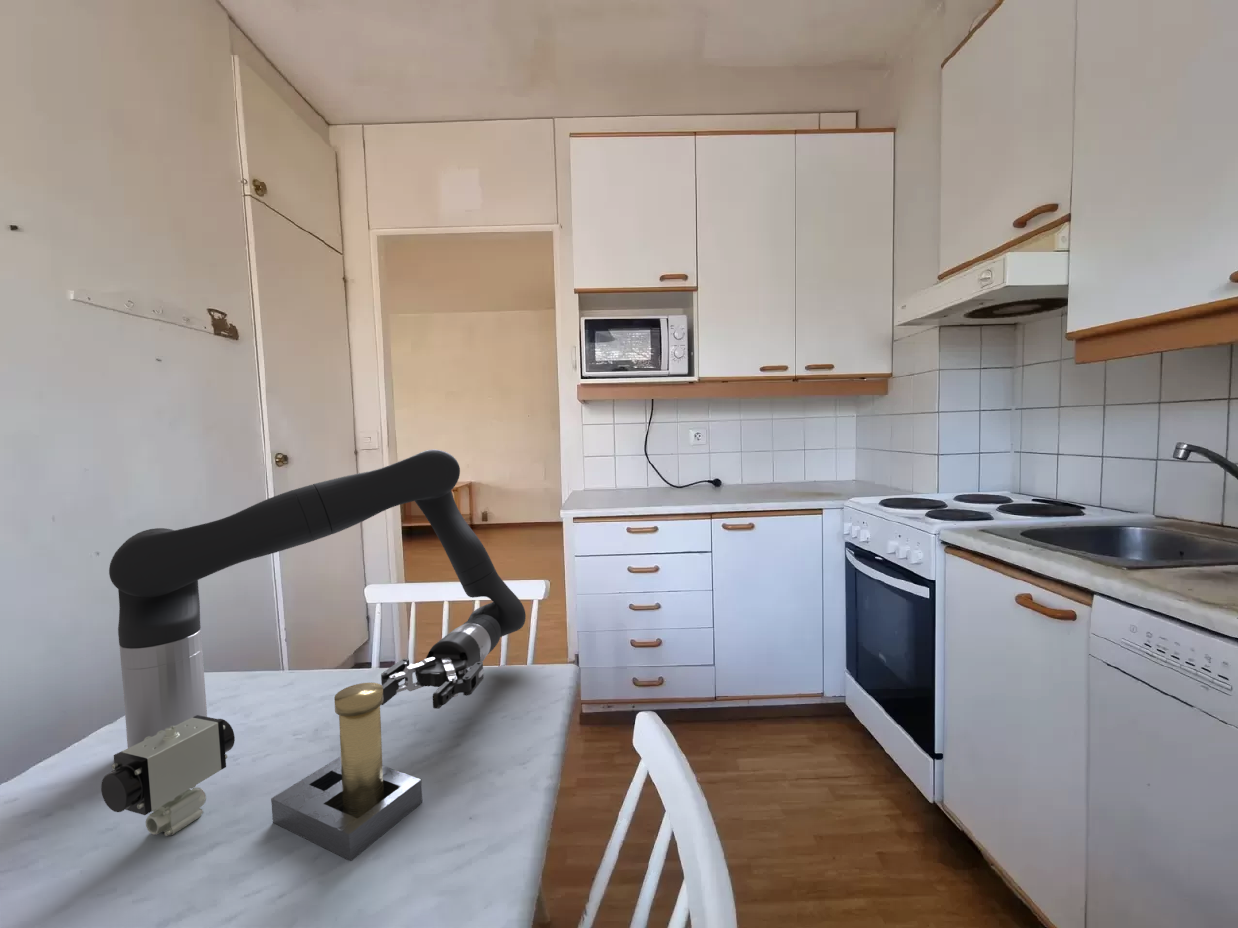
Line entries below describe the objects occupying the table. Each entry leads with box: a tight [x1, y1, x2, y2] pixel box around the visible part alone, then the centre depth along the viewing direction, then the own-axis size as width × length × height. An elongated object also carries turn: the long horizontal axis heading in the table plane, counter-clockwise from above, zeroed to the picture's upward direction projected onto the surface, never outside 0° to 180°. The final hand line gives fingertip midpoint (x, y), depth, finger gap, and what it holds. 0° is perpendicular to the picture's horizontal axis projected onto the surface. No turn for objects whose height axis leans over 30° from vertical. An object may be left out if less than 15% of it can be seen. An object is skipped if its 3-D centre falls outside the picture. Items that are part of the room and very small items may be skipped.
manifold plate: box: [270, 755, 423, 862], centre depth 65 cm, size 14×10×3 cm
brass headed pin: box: [334, 682, 384, 819], centre depth 63 cm, size 5×5×15 cm
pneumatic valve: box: [100, 715, 236, 837], centre depth 63 cm, size 6×12×12 cm, turn 162°
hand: (406, 700), depth 73 cm, fingers open, 8 cm apart
